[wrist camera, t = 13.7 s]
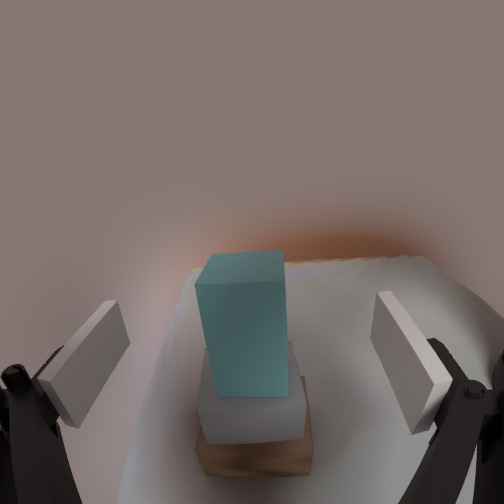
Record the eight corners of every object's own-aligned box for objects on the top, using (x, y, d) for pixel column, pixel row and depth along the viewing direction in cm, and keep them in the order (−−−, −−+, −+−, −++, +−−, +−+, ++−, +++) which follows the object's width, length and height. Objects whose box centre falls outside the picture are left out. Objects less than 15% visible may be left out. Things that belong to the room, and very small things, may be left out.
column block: (287, 353, 24) (282, 250, 21) (288, 396, 19) (285, 280, 16) (227, 355, 24) (211, 254, 21) (218, 396, 20) (194, 284, 17)
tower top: (290, 377, 27) (291, 341, 26) (303, 438, 20) (306, 402, 18) (212, 383, 27) (205, 347, 25) (207, 444, 20) (197, 410, 18)
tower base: (302, 405, 29) (304, 376, 27) (309, 475, 20) (313, 450, 19) (217, 407, 29) (211, 378, 28) (205, 475, 21) (195, 450, 19)
